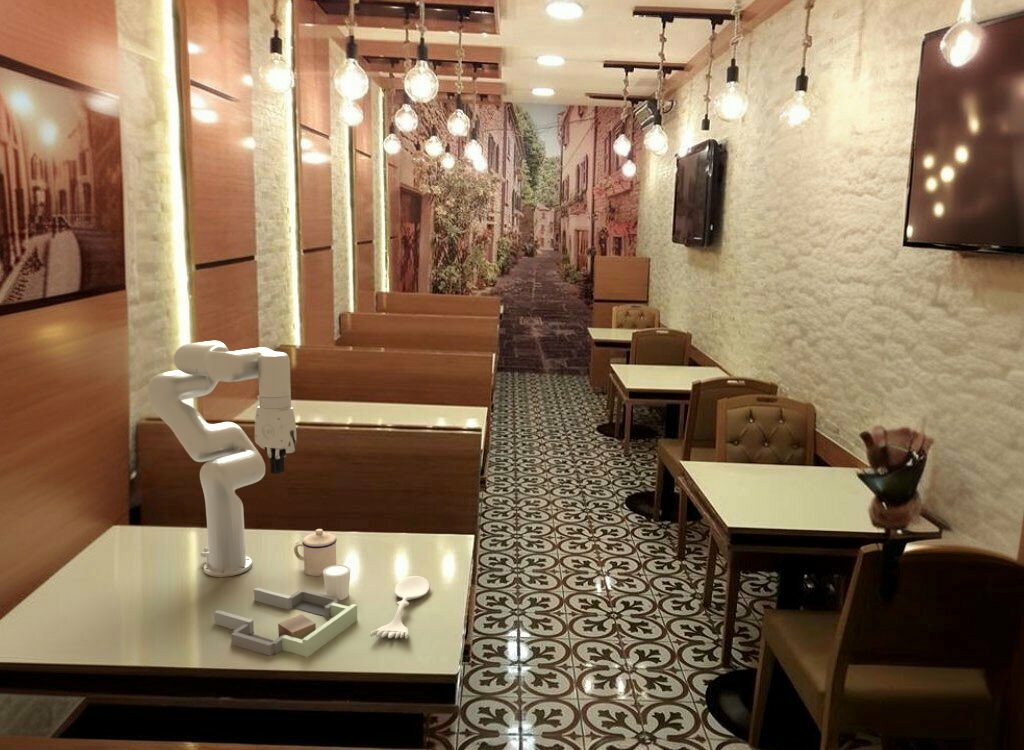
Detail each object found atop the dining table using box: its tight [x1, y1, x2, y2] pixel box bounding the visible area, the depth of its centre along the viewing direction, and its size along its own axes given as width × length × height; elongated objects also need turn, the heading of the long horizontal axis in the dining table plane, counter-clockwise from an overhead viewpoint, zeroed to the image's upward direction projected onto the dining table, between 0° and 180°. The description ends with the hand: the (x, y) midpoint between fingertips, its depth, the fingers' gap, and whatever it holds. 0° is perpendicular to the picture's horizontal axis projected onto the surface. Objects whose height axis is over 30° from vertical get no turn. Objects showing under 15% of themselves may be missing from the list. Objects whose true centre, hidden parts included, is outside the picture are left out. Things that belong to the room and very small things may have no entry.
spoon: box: [369, 575, 431, 639], centre depth 192 cm, size 9×32×4 cm, turn 176°
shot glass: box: [322, 564, 351, 601], centre depth 200 cm, size 7×7×7 cm
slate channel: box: [213, 587, 358, 658], centre depth 186 cm, size 29×18×4 cm, turn 65°
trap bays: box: [230, 589, 341, 657], centre depth 185 cm, size 12×25×2 cm, turn 155°
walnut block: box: [277, 614, 317, 640], centre depth 179 cm, size 6×6×4 cm
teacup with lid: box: [293, 528, 337, 577], centre depth 215 cm, size 12×9×12 cm
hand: (277, 472), depth 198 cm, fingers closed
